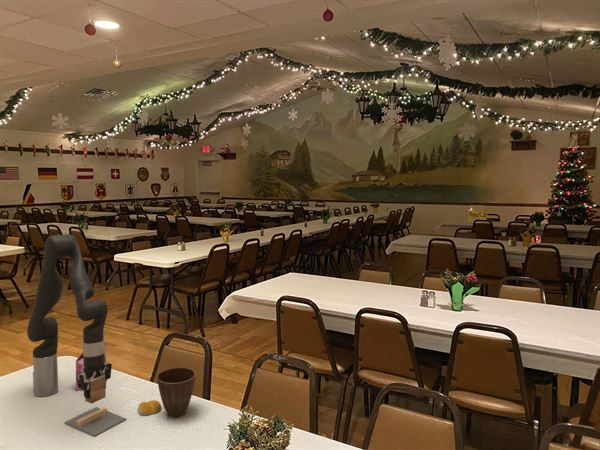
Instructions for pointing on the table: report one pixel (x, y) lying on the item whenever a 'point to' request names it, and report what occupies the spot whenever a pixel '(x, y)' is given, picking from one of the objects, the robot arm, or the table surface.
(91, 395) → the brown wooden block
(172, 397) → the plant pot
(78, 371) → the gum box
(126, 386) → the table surface
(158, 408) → the bread roll
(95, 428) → the mat
